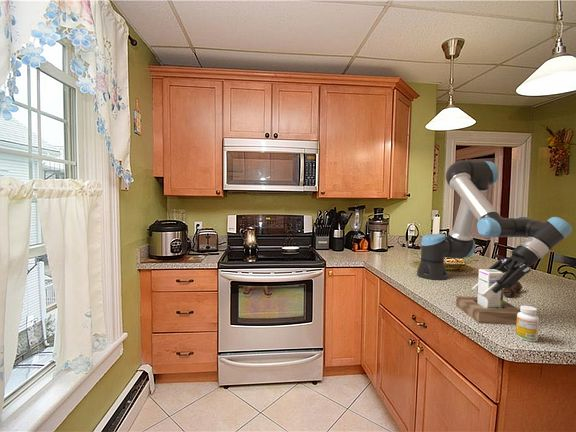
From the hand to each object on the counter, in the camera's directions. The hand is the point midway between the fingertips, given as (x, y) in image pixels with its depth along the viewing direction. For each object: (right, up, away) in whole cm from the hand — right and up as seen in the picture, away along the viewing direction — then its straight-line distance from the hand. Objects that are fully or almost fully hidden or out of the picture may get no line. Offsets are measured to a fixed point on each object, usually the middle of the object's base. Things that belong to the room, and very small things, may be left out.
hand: (479, 293), depth 109 cm
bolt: (+30, -7, +24) cm, 39 cm away
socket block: (+3, -8, 0) cm, 9 cm away
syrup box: (+4, -6, 0) cm, 7 cm away
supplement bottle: (+3, -9, -18) cm, 20 cm away
